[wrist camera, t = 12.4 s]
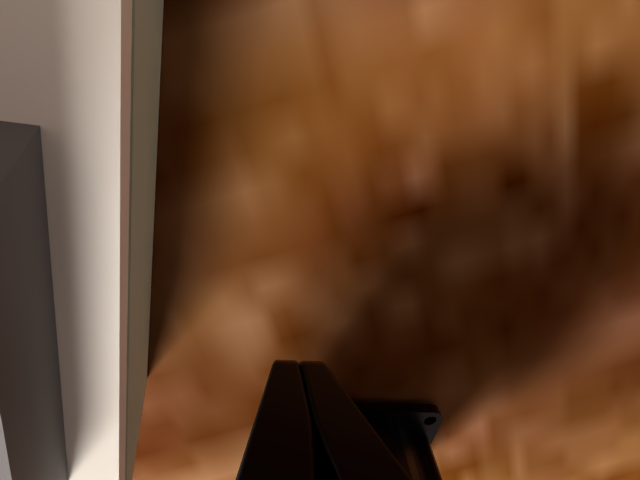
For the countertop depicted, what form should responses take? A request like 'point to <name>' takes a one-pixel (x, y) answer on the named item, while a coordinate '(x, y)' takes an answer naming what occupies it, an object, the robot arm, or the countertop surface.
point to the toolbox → (141, 206)
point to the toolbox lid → (64, 237)
